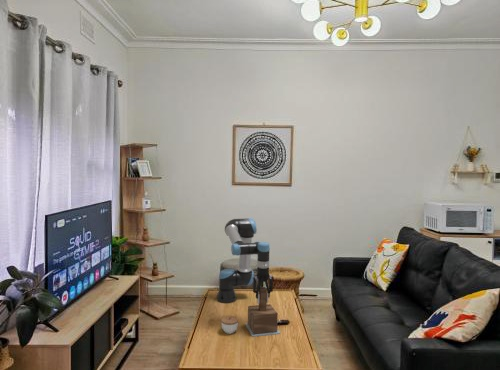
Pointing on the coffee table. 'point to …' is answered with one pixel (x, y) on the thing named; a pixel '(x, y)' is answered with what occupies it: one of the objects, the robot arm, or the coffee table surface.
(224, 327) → the lidded jar
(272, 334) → the mat
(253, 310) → the cover
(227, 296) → the robot arm
